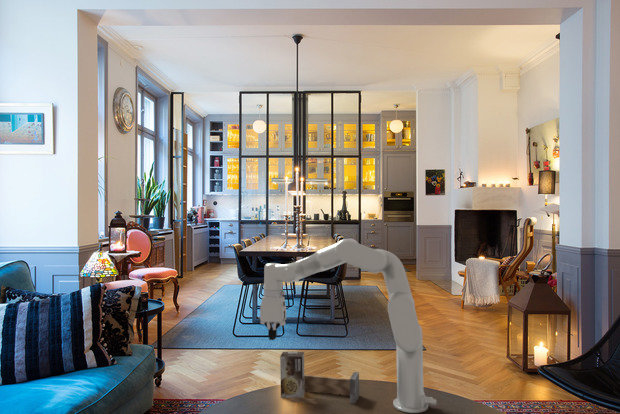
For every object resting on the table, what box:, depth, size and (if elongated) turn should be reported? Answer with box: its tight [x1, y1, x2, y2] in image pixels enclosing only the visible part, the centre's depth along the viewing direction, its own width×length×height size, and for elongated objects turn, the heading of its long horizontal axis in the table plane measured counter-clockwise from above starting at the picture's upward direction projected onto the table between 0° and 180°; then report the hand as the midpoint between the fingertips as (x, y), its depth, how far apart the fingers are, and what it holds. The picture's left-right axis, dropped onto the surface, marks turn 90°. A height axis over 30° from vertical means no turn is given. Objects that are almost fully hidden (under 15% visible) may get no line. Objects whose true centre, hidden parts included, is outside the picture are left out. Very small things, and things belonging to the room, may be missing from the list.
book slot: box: [290, 371, 360, 405], centre depth 163 cm, size 27×13×9 cm, turn 73°
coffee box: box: [279, 351, 306, 399], centre depth 166 cm, size 9×6×16 cm
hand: (272, 339), depth 170 cm, fingers closed
